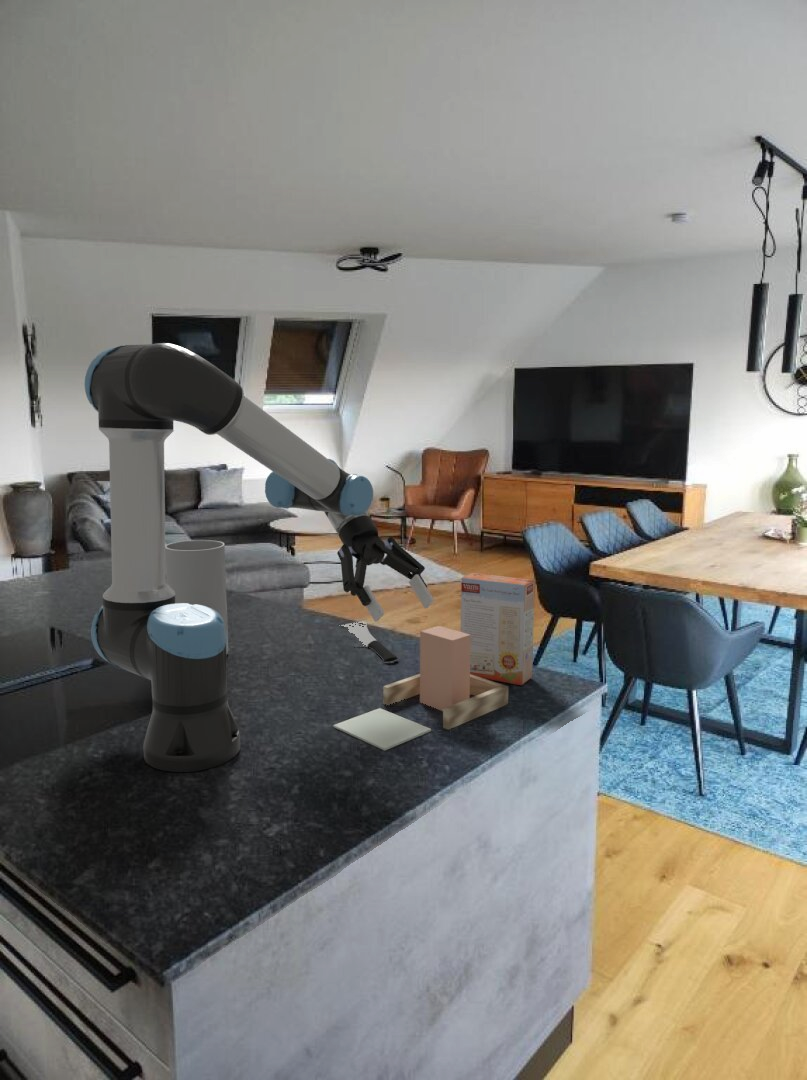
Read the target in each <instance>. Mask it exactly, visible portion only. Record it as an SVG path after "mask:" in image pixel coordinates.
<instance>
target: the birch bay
mask: <svg viewBox="0 0 807 1080" xmlns="http://www.w3.org/2000/svg"><path fill="white" fill-rule="evenodd" d="M382 687H383V688H382V689H383V690H382V691H383V693H382V703H383V705H385V704H386V705H385V706H387V705H388V706H391V705H394V704H396V703H395V702H397V703H399V702H402V701H404V699H405V700H407V699H410V698H413V697H415V696H418V695H420V673H418V674H415V675H413V676H409V677H406V678H404V679H403V678H402V679H400V680H398V681H395V682H392V683H388V684H386V685H383V686H382ZM470 695H471V696H472V697H470V698H469V699H467V700H464V701H462V702H459V703H457V704H454V705H452V706H449V707H447V708H444V709H443V711H442V728H443V729H445V730H451V729H453V728H456V727H458V726H461V725H463V724H465V723H467V722H469V721H472V720H475V719H477V718H479V717H482V716H484V715H486V714H488V713H491V712H494V711H495V710H498V709H500V708H503V707H505V706H508V704H509V686H508V685H505V684H503V683H499V682H497V681H496V682H495V681H494V680H490V679H485V678H481V677H478V676H474V675H471V674H470ZM401 700H402V701H401ZM393 703H394V704H393ZM390 704H391V705H390Z"/></svg>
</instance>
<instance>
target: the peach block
mask: <svg viewBox="0 0 807 1080" xmlns="http://www.w3.org/2000/svg"><path fill="white" fill-rule="evenodd" d="M419 637H420V638H419V639H420V640H419V647H420V648H419V674H420V694H419V703H420V704H422V703H423V704H422V705H425V704H426V705H425V706H428V707H430V706H431V707H430V708H433V707H434V708H433V709H435V708H436V710H438V711H441V712H443V709H444V708H447V707H449V706H452V705H454V704H457V703H459V702H462V701H464V700H467V699H469V698H471V697H470V695H471V694H470V646H471V635H470V634H466V633H463V632H461V631H460V630H455V629H451V628H447V627H445V626H441V625H437V626H433V627H430V628H426V629H423V630H420V633H419Z"/></svg>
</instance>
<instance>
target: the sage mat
mask: <svg viewBox="0 0 807 1080" xmlns="http://www.w3.org/2000/svg"><path fill="white" fill-rule="evenodd" d="M333 728H334V729H336V730H339V731H341V732H343V733H346V734H348V735H350V736H352V737H354V738H356V739H359V740H360V741H363V742H365V743H367V744H369V745H372V746H373V747H376V748H378V749H380V750H382V751H384V752H385V751H388V750H390V749H392V748H394V747H397V746H399V745H401V744H404V743H406V742H408V741H411V740H413V739H416V738H418V737H420V736H423V735H425V734H428V733H430V732H432V729H431V728H430V727H427V726H425V725H422V724H420V723H417V722H416V721H412V720H411V719H408V718H406V717H405V718H404V717H403V716H400V715H399V714H398V715H397V714H395V713H392V712H391V711H388V710H385V709H383V708H381V707H379V708H377V709H373V710H371V711H369V712H365V713H362V714H360V715H357V716H354V717H351V718H350V719H347V720H343V721H341V722H338V723H335V724H333Z"/></svg>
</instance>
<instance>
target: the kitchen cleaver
mask: <svg viewBox="0 0 807 1080" xmlns="http://www.w3.org/2000/svg"><path fill="white" fill-rule="evenodd" d="M357 622H358V623H357ZM352 623H353V624H352ZM359 623H363V624H366V625H362V624H359ZM344 624H345V625H344ZM344 624H340V625H341V626H344V627H348V629H349V630H348V631H349V632H350V633H353V634H355V636H356V637H357V638H359V641H361V642H363V643H362V644H364V645H366V647H365V648H368V647H369V648H371V649H370V650H372V649H373V650H374V651H375V652H376V653H377V654H378V655H379V656H380V657H381V658H382V659H383V660H382V659H381V658H380V659H381V660H382V662H383V663H384V662H385V663H390V662H396V663H397V662H398V661H399V658H398V656H396V655H395V654H394V653H392V651H390V650H389V649H388V648H387V647H386V646H385V645H384V644H382V643H381V642H380V641H378V640H377V639H376V638H375V637H374V636H373V635H372V633H371V632H370V631H369V629H368V623H367V621H364V620H362V621H361V620H360V621H356V623H355V622H350V623H344ZM355 624H356V625H355ZM349 625H351V626H349ZM359 625H361V626H359ZM352 626H354V627H352ZM362 626H364V627H362ZM364 645H363V646H364ZM369 648H368V649H369ZM373 650H372V651H373ZM374 651H373V652H374ZM375 652H374V653H375ZM376 653H375V654H376ZM377 654H376V655H377ZM378 655H377V656H378ZM379 656H378V657H379ZM385 663H384V664H385Z"/></svg>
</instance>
